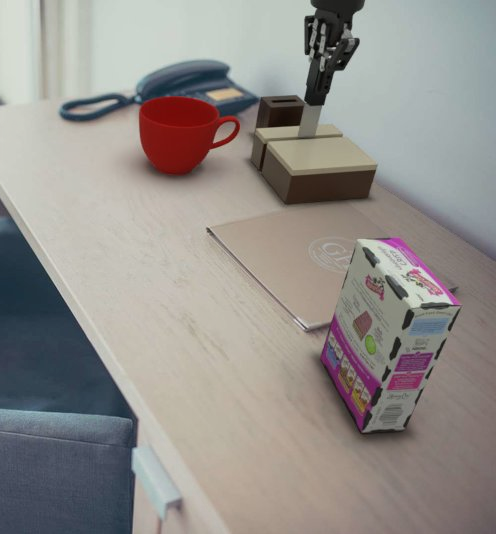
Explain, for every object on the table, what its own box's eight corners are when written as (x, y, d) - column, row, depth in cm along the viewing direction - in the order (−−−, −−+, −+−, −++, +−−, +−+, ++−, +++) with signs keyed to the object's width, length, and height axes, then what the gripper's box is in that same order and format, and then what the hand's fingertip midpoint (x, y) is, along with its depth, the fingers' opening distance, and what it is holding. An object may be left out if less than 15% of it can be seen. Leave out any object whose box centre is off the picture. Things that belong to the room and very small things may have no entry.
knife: (309, 142, 108) (329, 56, 100) (315, 148, 106) (336, 61, 98) (292, 143, 108) (311, 57, 99) (298, 149, 106) (318, 62, 97)
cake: (338, 168, 110) (347, 136, 107) (368, 197, 102) (378, 164, 99) (261, 174, 108) (267, 141, 105) (285, 204, 100) (292, 170, 97)
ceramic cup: (242, 183, 105) (252, 126, 100) (140, 185, 104) (144, 128, 98) (225, 148, 116) (232, 95, 110) (131, 150, 115) (134, 96, 109)
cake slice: (324, 154, 114) (332, 123, 111) (335, 165, 111) (343, 133, 108) (250, 159, 112) (255, 128, 109) (258, 170, 109) (264, 138, 106)
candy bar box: (408, 431, 64) (466, 305, 55) (361, 435, 64) (411, 309, 54) (359, 354, 73) (402, 234, 64) (317, 356, 73) (354, 236, 63)
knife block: (288, 132, 122) (296, 94, 118) (299, 144, 118) (308, 105, 114) (253, 134, 121) (260, 96, 116) (263, 146, 117) (271, 107, 112)
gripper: (394, -17, 86) (360, 106, 97) (344, -39, 97) (319, 74, 108) (342, -16, 85) (314, 108, 95) (298, -38, 96) (277, 76, 106)
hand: (316, 89), depth 101 cm, fingers closed on knife, 2 cm apart
